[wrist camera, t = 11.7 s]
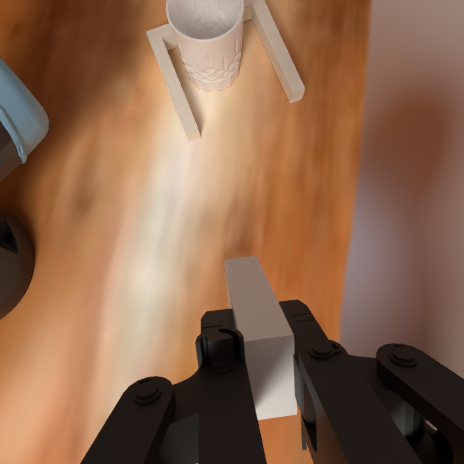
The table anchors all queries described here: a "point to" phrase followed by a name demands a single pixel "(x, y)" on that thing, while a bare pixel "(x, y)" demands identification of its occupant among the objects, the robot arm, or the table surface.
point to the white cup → (208, 39)
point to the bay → (273, 45)
